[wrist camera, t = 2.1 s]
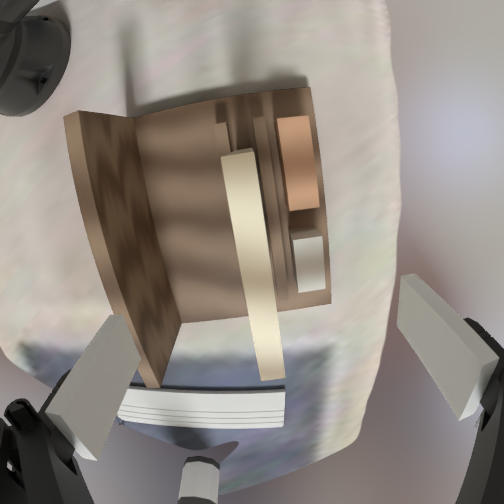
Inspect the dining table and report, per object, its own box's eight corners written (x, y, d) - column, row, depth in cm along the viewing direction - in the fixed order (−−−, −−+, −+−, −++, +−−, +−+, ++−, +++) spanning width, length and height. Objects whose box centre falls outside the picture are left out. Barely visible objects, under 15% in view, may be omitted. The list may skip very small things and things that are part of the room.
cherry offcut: (273, 121, 30) (276, 118, 26) (301, 118, 29) (308, 115, 26) (285, 203, 33) (289, 211, 29) (311, 199, 33) (319, 207, 29)
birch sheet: (236, 150, 31) (220, 156, 14) (251, 147, 31) (254, 151, 14) (256, 271, 35) (261, 380, 19) (269, 269, 35) (285, 377, 18)
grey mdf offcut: (288, 229, 34) (293, 240, 30) (314, 225, 34) (322, 236, 30) (293, 277, 36) (298, 292, 32) (318, 273, 36) (325, 288, 32)
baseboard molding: (282, 427, 49) (284, 385, 45) (283, 439, 46) (286, 397, 42) (125, 420, 49) (106, 379, 45) (121, 431, 46) (100, 390, 42)
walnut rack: (126, 122, 31) (63, 116, 18) (307, 89, 30) (342, 58, 17) (173, 318, 39) (147, 387, 27) (328, 297, 39) (359, 364, 26)
